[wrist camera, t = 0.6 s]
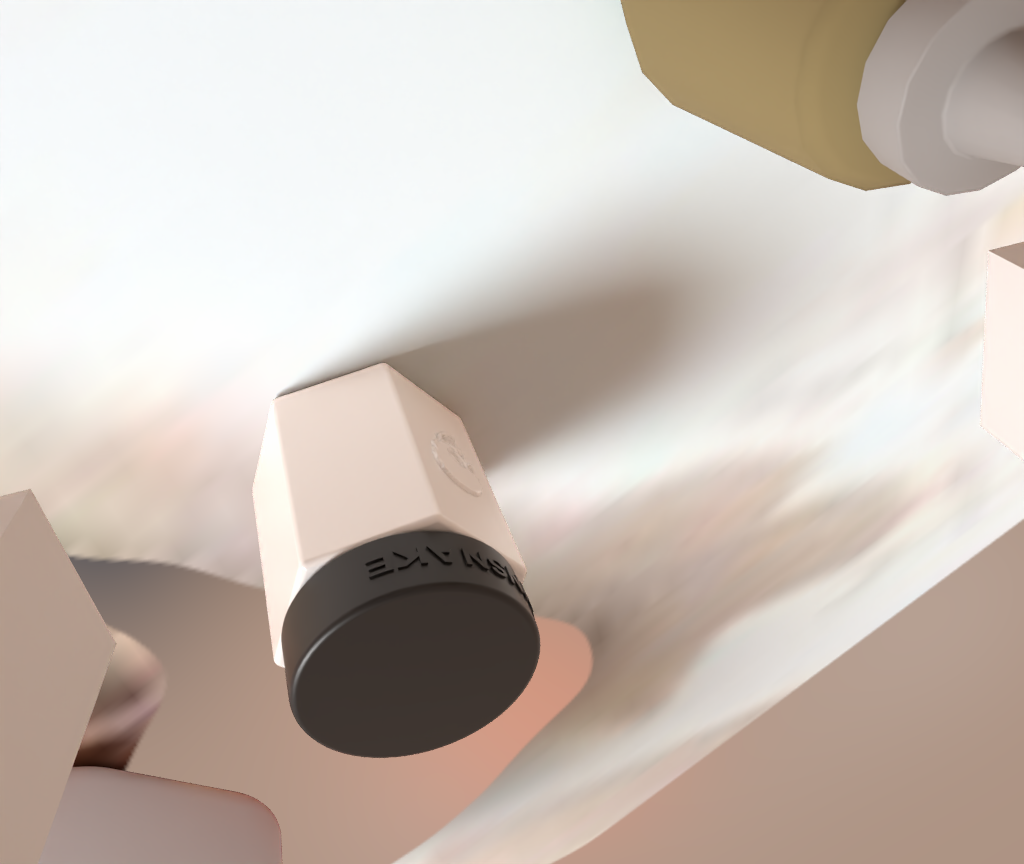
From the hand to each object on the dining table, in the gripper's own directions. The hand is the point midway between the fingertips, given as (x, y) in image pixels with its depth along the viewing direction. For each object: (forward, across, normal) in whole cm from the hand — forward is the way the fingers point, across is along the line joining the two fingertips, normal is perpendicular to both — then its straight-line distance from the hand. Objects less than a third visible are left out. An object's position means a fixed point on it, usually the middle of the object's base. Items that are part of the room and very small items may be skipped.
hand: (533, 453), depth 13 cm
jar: (+23, -6, -12) cm, 27 cm away
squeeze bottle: (+22, +10, +4) cm, 25 cm away
